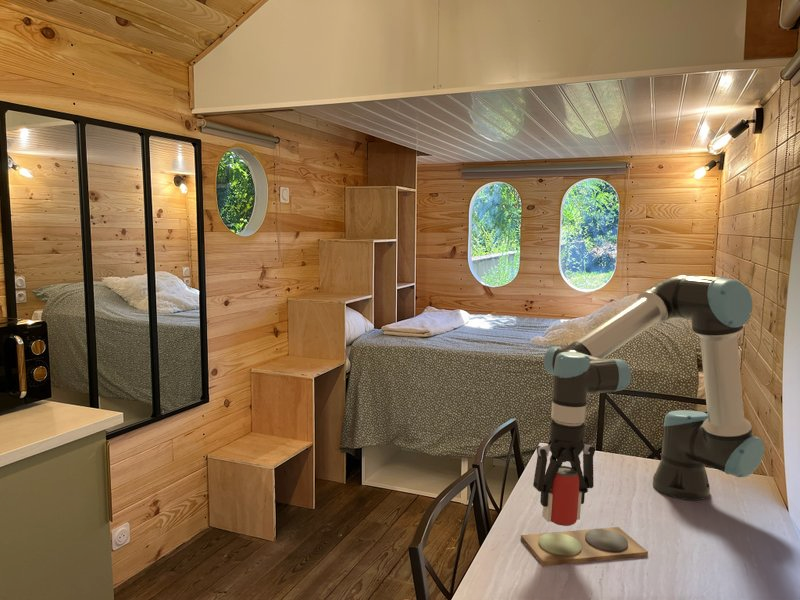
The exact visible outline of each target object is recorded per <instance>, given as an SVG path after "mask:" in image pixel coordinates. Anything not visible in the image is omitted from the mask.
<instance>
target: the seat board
mask: <svg viewBox="0 0 800 600" xmlns="http://www.w3.org/2000/svg"><path fill="white" fill-rule="evenodd" d="M520 540H521V542H523V544H524V545H525V546H526V547H527V548H528V550H529V551H530V552H531V553H532V554H533V556H534V557H535V558H536V560H538V562H539V563H540V564H541V566H543V567H545V566H546V567H547V566H558V565H568V564H569V565H570V564H579V563H588V562H598V561H610V560H619V559H631V558H640V557H648V555H649V551H648V550H647V549H645V548H644V547H643V546H642V545H640V543H638V542H637V541H636V540H635V539H633V538H632V537H631V536H630V535H629V534H627V533H626V531H624V530H623V529H621V528H620V527H619V526H613V527H612V526H611V527H603V528H591V529H589V528H587V529H581V530H580V529H577V530H576V529H575V530H566V531H556V532H555V531H552V532H543V533H531V534H521V535H520Z"/></svg>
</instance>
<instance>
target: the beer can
mask: <svg viewBox="0 0 800 600" xmlns="http://www.w3.org/2000/svg"><path fill="white" fill-rule="evenodd" d="M579 483H580V481H579V476H578V471H575V470H574V469H573V468H572V467H571V466H567V465H561V467H559V470H558V472H557V475H556V477H555V479H554V482H553V485H552V487H551V490H550V492H551V493H552V494H553V498H552V513H551V523H553V524H555V525H558V526H563V527H570V526H573V525H575V524H576V523H577V521H578V520H577V510H578V497H579Z"/></svg>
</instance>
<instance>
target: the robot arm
mask: <svg viewBox="0 0 800 600" xmlns="http://www.w3.org/2000/svg"><path fill="white" fill-rule="evenodd" d="M753 305H754V303H753V297H752V295H751V292H750V290H749V288H748V287H747V286H746V285H745V284H743V283H742V282H741V281H739V280H737V279H733V278H732V279H730V278H727V277H723V276H722V277H721V276H720V277H719V276H718V277H717V276H704V275H694V274H680V275H675V276H672V277H669V278H667V279H665V280H662V281H659V282H658V283H655V284H654V285H652V286H651V287H649V288H647V289H645V290H644V291H642V292H641V293H639V294H638V296H637V299H636V300H635V301H633V302H632V303H631V304H629V305H628V306H627V307H624V308H623V309H621V311H619V312H617V313H615V314H614V315H613V316H611V317H609V318H608V319H607V320H605V321H603V322H602V323H601V324H599V325H597V326H596V327H594V328H593V329H592V330H590V331H589V332H587V333H585V334H584V335H582V336H581V337H580V338H578V339H576V340H574V341H573V342H572V343H569V344H568V345H567V346H565V347H563V346H552V347H550V348H549V349H548V350H547V351H546V352H545V354H544V356H543V360H542V361H543V367H544V368H543V369H544V370H545V371H546V372H547V373H548V374H549V375H550V376H553V381H552V397H551V398H552V400H551V401H552V402H551V416H550V417H551V421H550V427H549V437H550V439H549V441H548V443H547V445H544V446H541V445H537V446H536V455H537V459H536V466H535V470H534V471H535V472H534V476H533V484H532V485H533V488H535V490H536V491H538V492H539V493H540V501H539V503H540V505H541V506H542V518H544V520H546V521H545V522H547V523H550V522H551V513H552V498H553V494H552V493H551V492H550V490H551V487H552V485H553V482H554V479H555V477H556V475H557V472H558V470H559V467H561V466H563V463H566V462H569V463H570V467H572V468H573V469H574V470H575V471H578V476H579V481H580V483H579V497H578V510H577V521H578V520H581V509H582V507H581V506H582V505H583V504H584V503H585V496H586V495H585V494H586V493H588V492H589V489H593V488H594V487H595V486H594V455H595V452H596V447H595V446H593V445H591V444H590V443H584V440H585V429H586V424H585V422H586V419H587V417H586V416H587V403H588V395H593V394H605V393H615V392H618V391H624V390H626V389H627V388H628V387H629V386H630V383H631V379H632V371H631V369H630V366H629V365H628V364H627V362H625V361H624V360H623V359H620V358H619V359H618V358H606V357H607V356H609V355H610V354H612V353H614V352H615V351H616V350H618V349H619V348H621V347H623V346H624V345H625V344H627V343H628V342H630V341H631V340H633V339H634V338H636V337H637V336H639V335H640V334H641V333H643V332H644V331H646V330H648V329H649V328H650V327H652V326H653V325H655V324H663V323H665V322H666V321H667V320H669V319H670V320H671V319H676V318H679V319H685V320H690V321H691V327H692V328H691V329H692V332H693V333H694V334H695V335H697V336H698V337H699V343H700V354H701V363H702V373H703V381H704V383H703V384H704V390H705V392H704V394H705V402H706V410H707V412H703V411H698V410H697V411H696V410H688V409H687V410H686V409H685V410H683V409H681V410H680V409H678V410H671V411H669V412H667V413H666V414H665V416H664V421H663V422H664V423H663V427H662V428H663V430H662V443H661V456H660V458H661V459H660V462H659V463H658V466H657V468H656V471H655V473H654V475H653V476H652V487H653V488H655V490H657V491H658V492H660V493H662V494H664V495H667V496H670V497H674V498H678V499H681V500H690V501H692V500H693V501H697V500H698V501H699V500H705V499H707V498H709V497H710V492H711V484H710V483H709V478H708V474H707V471H706V466H708V467H711V468H714V469H715V470H718V471H721V472H722V473H723V472H724V473H725V474H726V475H730V476H734V477H736V478H746V477H749V476H750V475H753V473H754V472H755V471H756V470H757V469H758V467H759V466H760V464H761V462H762V460H763V456H764V453H765V445H764V442H763V440H762V439H761V438H760V437H759V436H756V435H753V429H752V428H753V427H752V423H751V421H750V420H748V419H746V418H745V409H744V401H743V400H744V399H743V398H744V397H743V388H742V378H741V377H742V376H741V368H740V365H741V364H740V354H739V344H738V343H739V342H738V334H740V333H741V332H742V331H743V330H744V325H746V324H747V323H748V322H749V320H750V318H751V313H752V312H753V309H754V308H753V307H754V306H753ZM549 452H550V453H551V455H550V454H549ZM581 453H582V463H581V460H580V455H581ZM549 455H550V457H549ZM548 457H549V464H548ZM547 464H548V465H547ZM581 464H582V465H583V466H582V467H581ZM551 523H552V522H551Z"/></svg>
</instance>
